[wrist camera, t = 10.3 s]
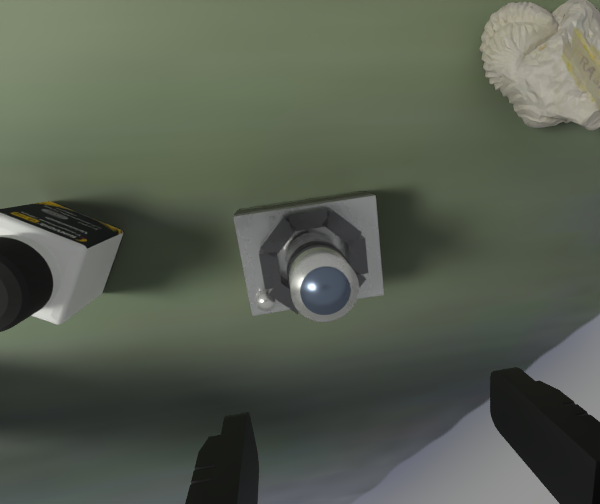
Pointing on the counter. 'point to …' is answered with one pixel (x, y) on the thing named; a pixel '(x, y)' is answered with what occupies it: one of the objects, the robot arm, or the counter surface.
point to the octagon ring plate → (299, 220)
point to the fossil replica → (546, 61)
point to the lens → (320, 278)
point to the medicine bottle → (51, 262)
